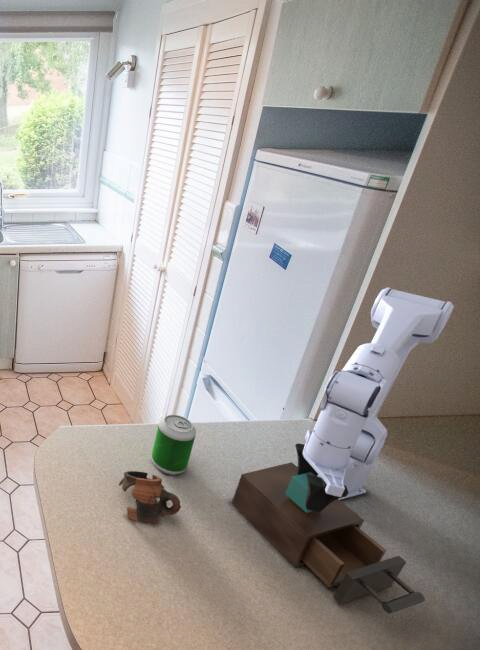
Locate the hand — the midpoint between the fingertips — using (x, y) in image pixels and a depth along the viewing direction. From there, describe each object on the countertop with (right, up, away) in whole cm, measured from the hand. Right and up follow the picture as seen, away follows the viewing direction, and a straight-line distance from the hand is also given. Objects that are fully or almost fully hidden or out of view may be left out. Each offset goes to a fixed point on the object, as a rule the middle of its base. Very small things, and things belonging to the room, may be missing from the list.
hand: (307, 495), depth 82 cm
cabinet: (+1, -9, +6) cm, 11 cm away
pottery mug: (-25, -7, +10) cm, 28 cm away
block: (0, -1, +1) cm, 1 cm away
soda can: (-16, -2, +21) cm, 27 cm away
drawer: (+3, -12, -3) cm, 13 cm away
